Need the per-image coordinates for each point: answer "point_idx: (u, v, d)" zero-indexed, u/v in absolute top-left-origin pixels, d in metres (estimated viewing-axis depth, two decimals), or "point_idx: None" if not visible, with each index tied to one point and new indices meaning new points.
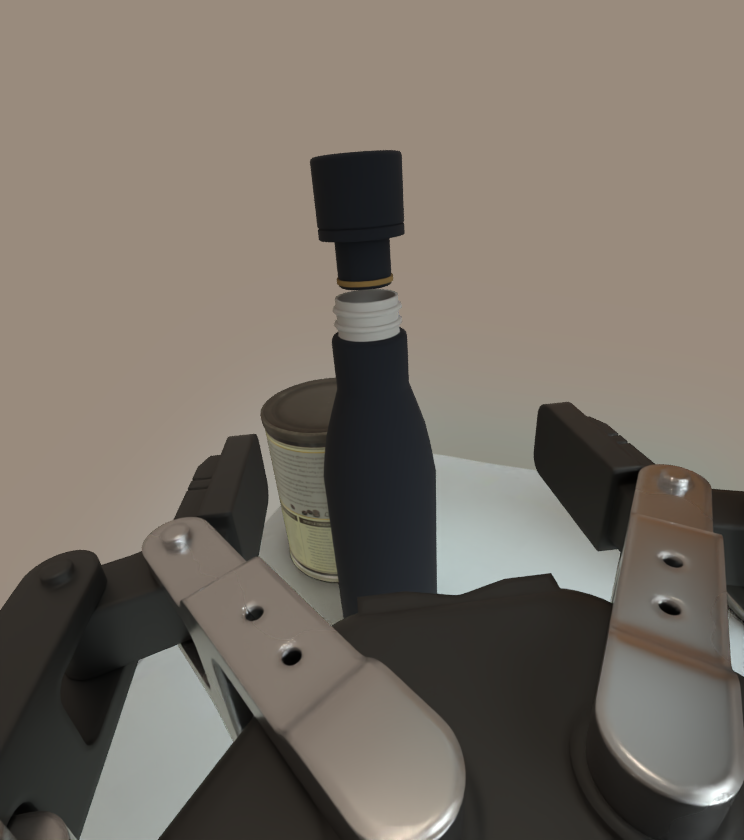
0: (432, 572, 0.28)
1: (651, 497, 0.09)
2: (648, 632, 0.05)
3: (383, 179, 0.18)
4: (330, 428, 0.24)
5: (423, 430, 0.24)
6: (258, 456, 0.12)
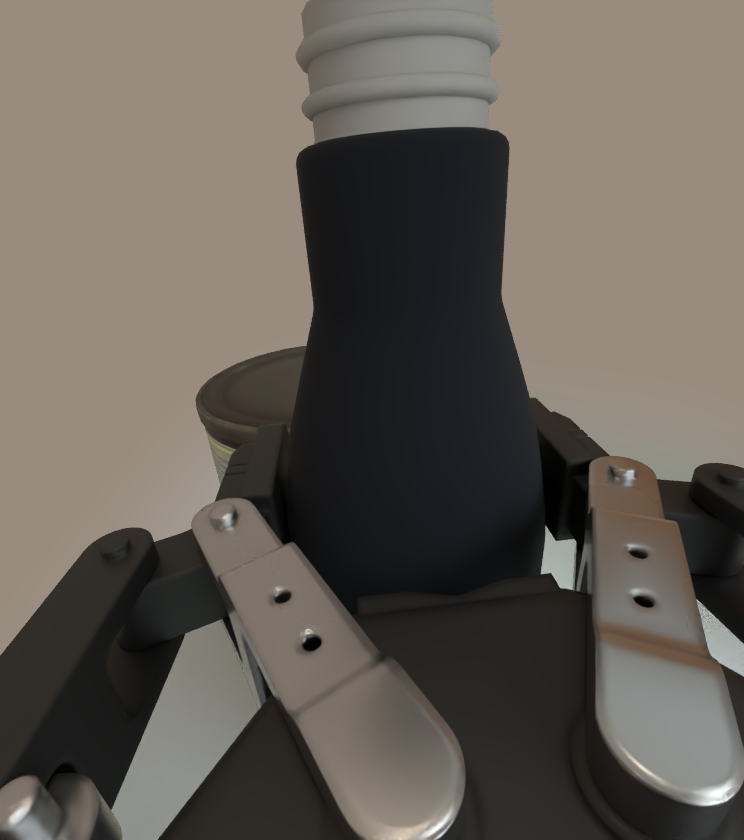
0: None
1: (604, 489, 0.09)
2: (629, 628, 0.05)
3: None
4: (298, 411, 0.10)
5: (531, 418, 0.10)
6: (287, 444, 0.13)
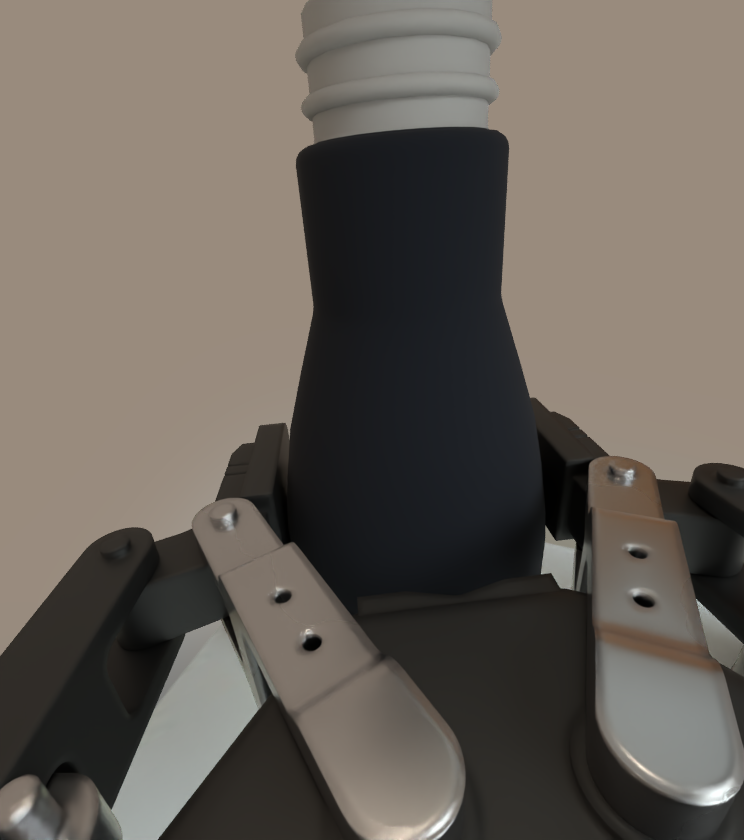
0: None
1: (604, 489, 0.09)
2: (629, 628, 0.05)
3: None
4: (298, 411, 0.10)
5: (532, 418, 0.10)
6: (288, 444, 0.13)
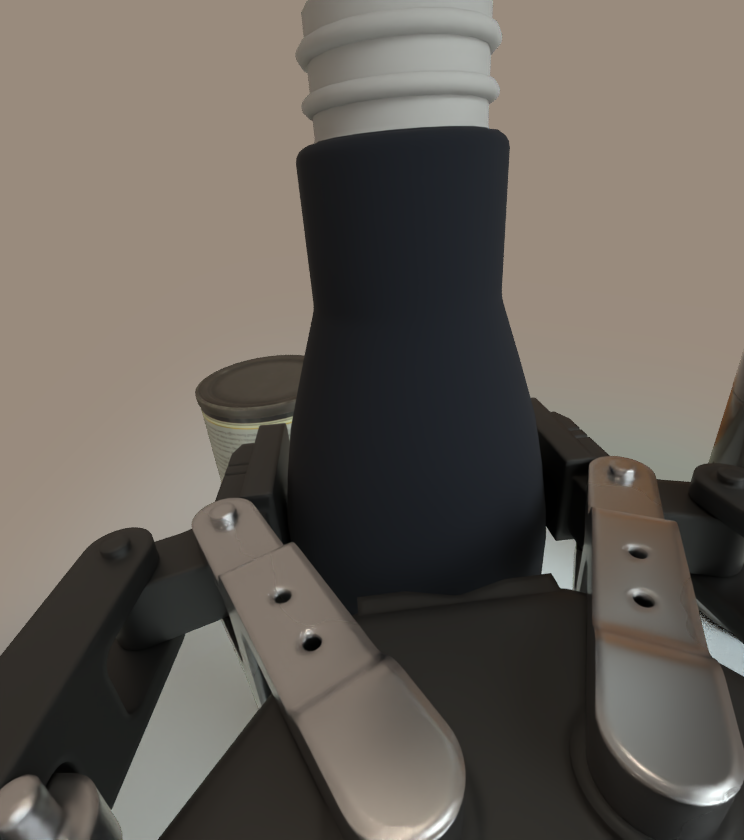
0: None
1: (604, 489, 0.09)
2: (629, 628, 0.05)
3: None
4: (298, 411, 0.10)
5: (532, 418, 0.10)
6: (287, 444, 0.13)
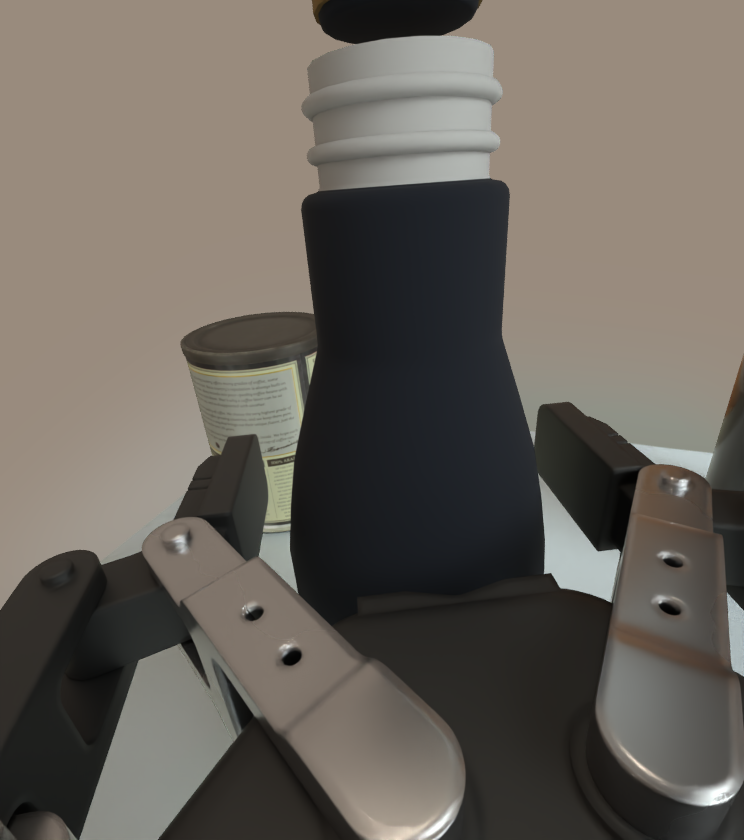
0: None
1: (651, 497, 0.09)
2: (648, 632, 0.05)
3: None
4: (302, 444, 0.10)
5: (531, 452, 0.10)
6: (258, 456, 0.12)
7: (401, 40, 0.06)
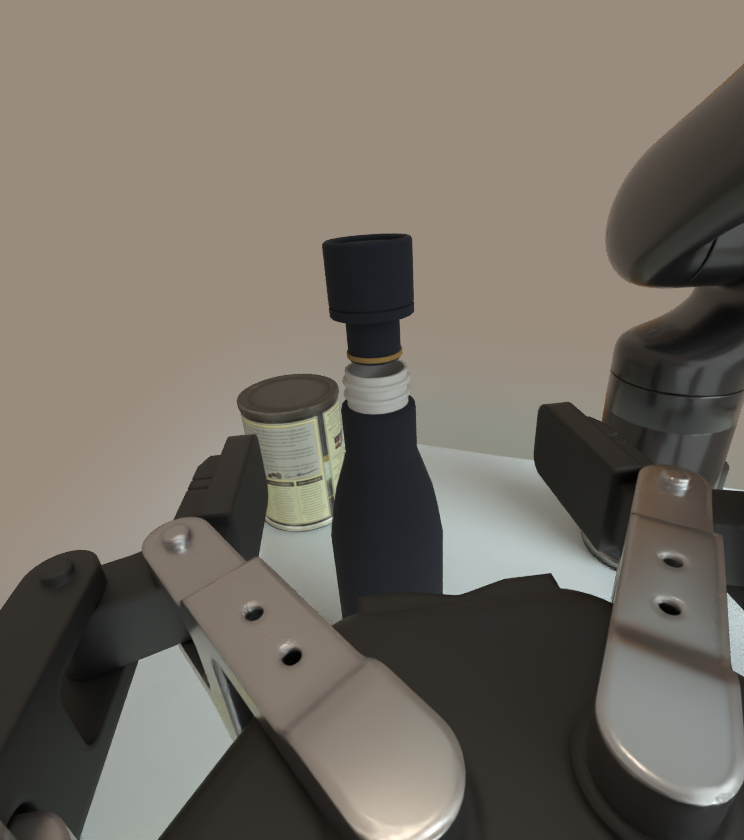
0: None
1: (651, 497, 0.09)
2: (648, 632, 0.05)
3: (394, 266, 0.19)
4: (339, 492, 0.25)
5: (431, 494, 0.25)
6: (258, 456, 0.12)
7: (375, 380, 0.21)
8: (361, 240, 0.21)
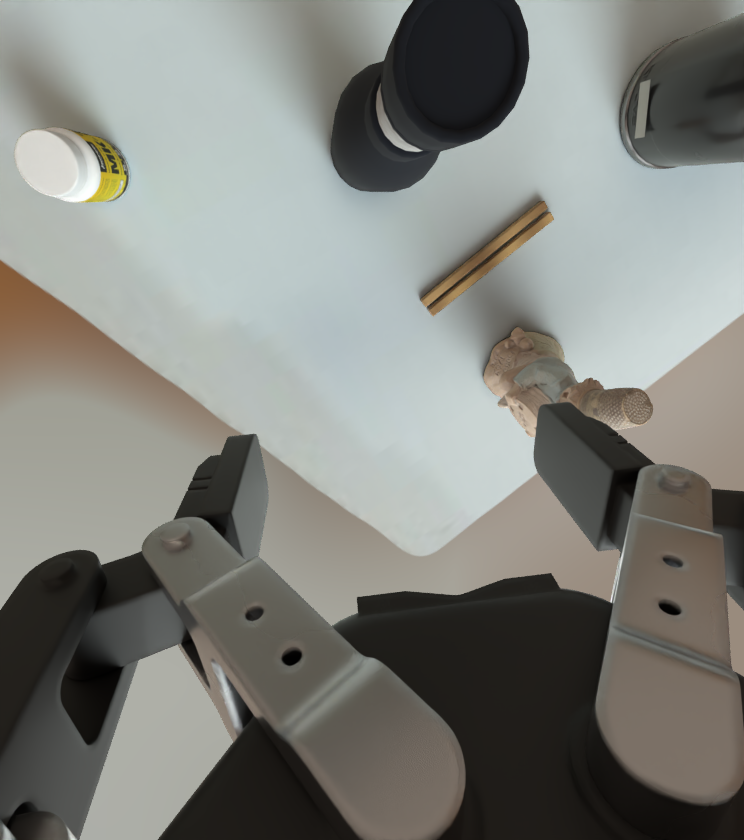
0: None
1: (651, 497, 0.09)
2: (648, 632, 0.05)
3: (461, 144, 0.14)
4: (349, 118, 0.23)
5: (432, 161, 0.25)
6: (258, 456, 0.12)
7: (405, 142, 0.18)
8: None
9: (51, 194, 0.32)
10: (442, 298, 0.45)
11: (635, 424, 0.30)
